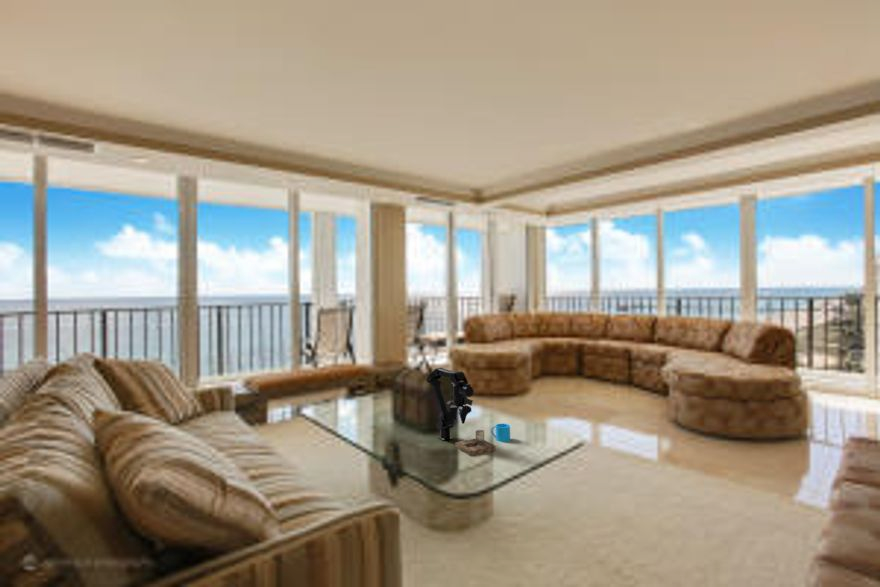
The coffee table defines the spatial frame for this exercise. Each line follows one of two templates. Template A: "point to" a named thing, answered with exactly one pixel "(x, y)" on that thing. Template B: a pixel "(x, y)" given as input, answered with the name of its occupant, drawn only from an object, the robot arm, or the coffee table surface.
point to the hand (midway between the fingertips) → (459, 421)
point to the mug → (502, 432)
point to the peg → (479, 436)
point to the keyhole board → (475, 447)
